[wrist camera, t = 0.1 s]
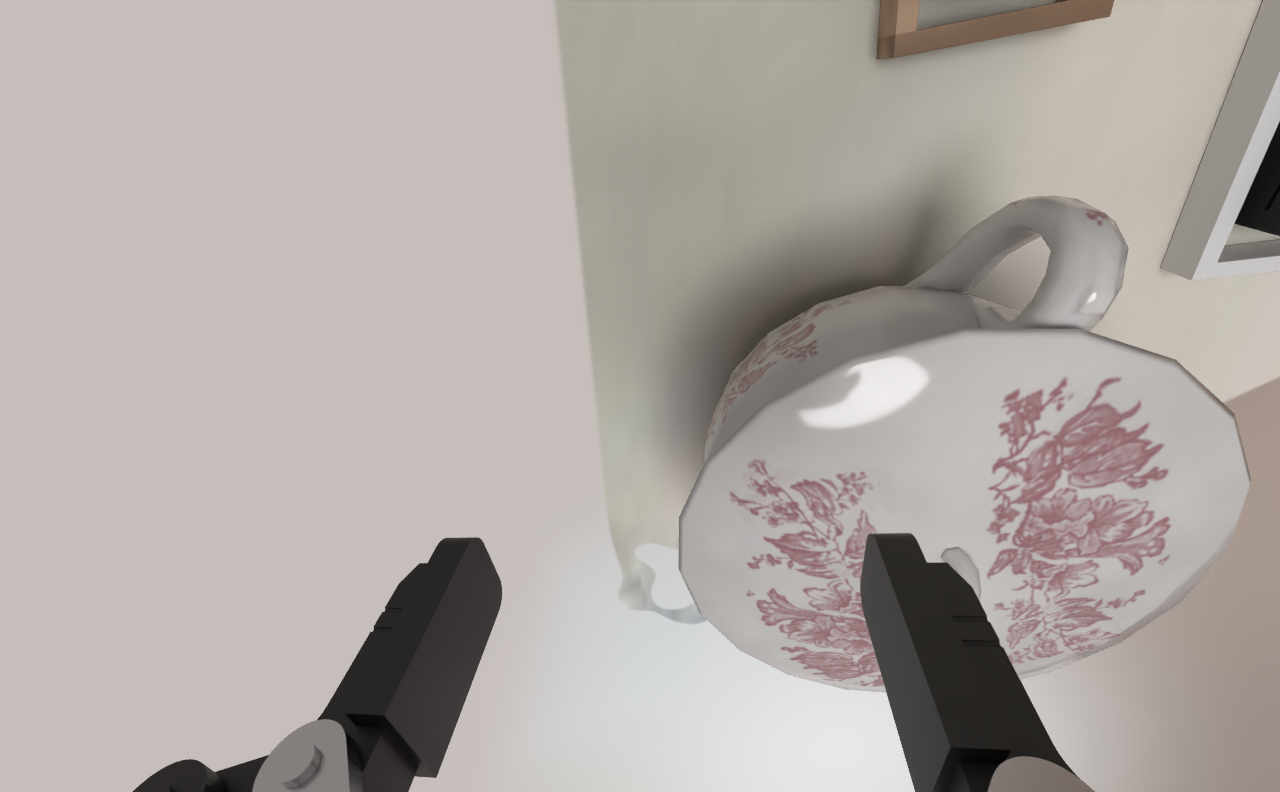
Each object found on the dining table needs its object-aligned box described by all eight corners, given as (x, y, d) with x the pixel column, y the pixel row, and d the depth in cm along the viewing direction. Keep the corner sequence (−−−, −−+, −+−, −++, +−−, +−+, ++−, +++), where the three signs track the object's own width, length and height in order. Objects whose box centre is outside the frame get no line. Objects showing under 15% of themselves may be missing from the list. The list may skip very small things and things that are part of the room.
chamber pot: (804, 554, 52) (859, 797, 34) (616, 379, 42) (559, 591, 25) (1110, 408, 39) (1434, 670, 22) (939, 120, 30) (1263, 181, 13)
